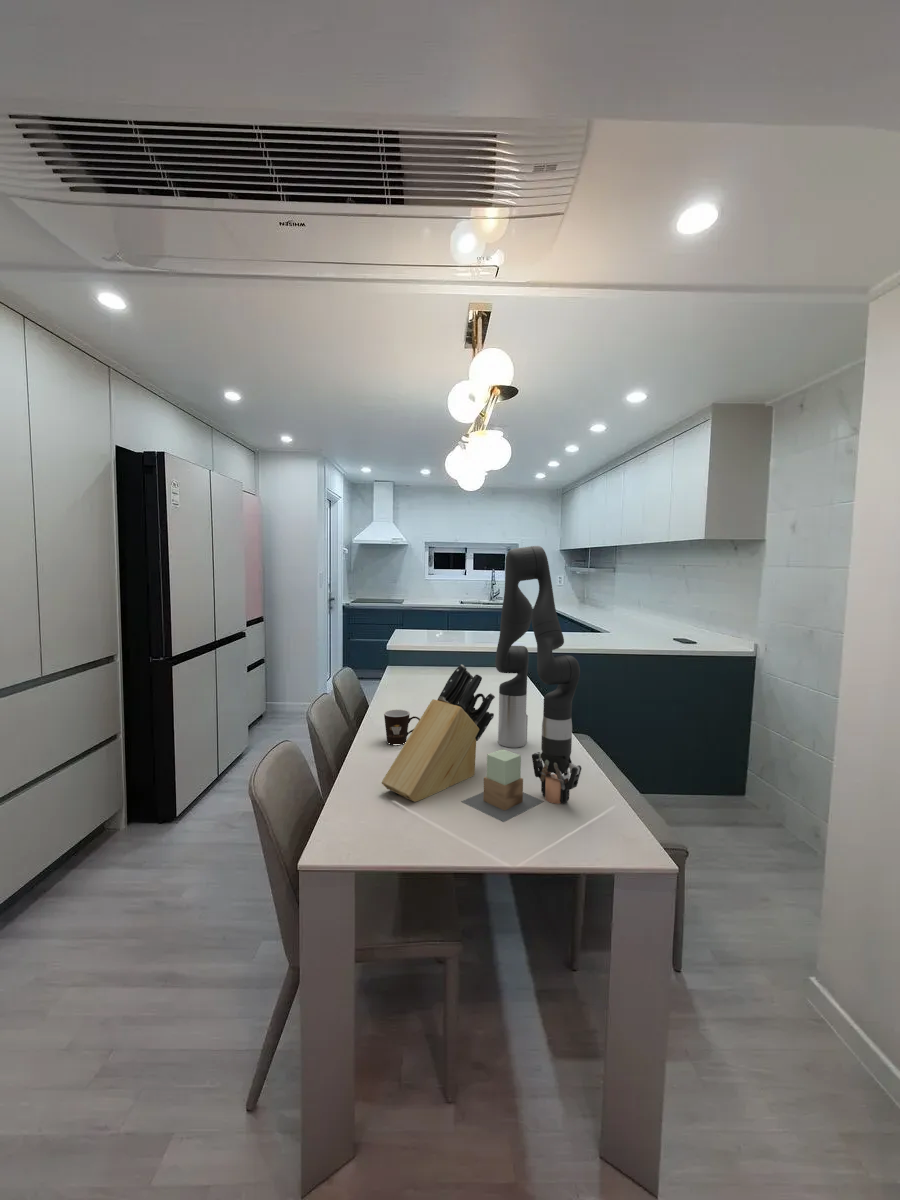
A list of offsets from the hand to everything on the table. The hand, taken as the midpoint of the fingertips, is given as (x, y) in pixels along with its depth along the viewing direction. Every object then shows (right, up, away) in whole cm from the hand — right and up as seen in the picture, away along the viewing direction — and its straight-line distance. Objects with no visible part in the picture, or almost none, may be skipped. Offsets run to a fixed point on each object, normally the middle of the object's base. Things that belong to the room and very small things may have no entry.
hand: (554, 798), depth 133 cm
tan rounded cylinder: (0, -1, 0) cm, 1 cm away
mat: (-13, -1, -2) cm, 14 cm away
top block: (-13, +6, -2) cm, 15 cm away
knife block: (-29, 0, +12) cm, 31 cm away
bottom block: (-13, 0, -2) cm, 14 cm away
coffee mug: (-44, +3, +41) cm, 60 cm away
